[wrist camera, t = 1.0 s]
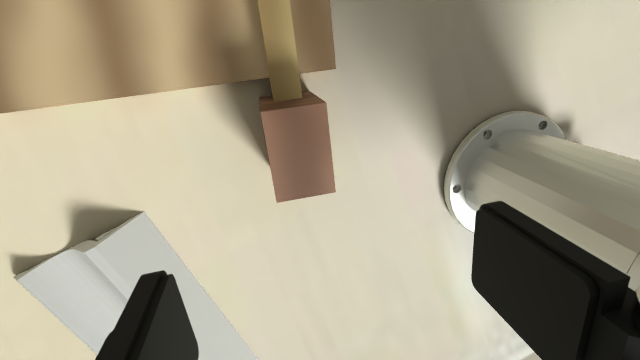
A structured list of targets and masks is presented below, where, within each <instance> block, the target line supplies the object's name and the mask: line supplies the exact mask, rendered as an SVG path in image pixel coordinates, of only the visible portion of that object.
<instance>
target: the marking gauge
mask: <svg viewBox="0 0 640 360" xmlns="http://www.w3.org/2000/svg"><path fill="white" fill-rule="evenodd" d="M257 4H258V10H259V16H260V23H261V29H262V35H263V41H264V47H265V53H266V59H267V65H268V71H269V77H270V84H271V90H272V96H268V97H261V98H259V101H260V113H261V118H262V124H263V129H264V135H265V140H266V146H267V151H268V157H269V162H270V168H271V173H272V179H273V185H274V190H275V196H276V201H277V203H278V202H284V201H289V200H295V199H300V198H306V197H311V196H317V195H322V194H328V193H334V192H336V191H335V182H334V172H333V163H332V153H331V144H330V134H329V125H328V115H327V106H326V102H325V101H323V100H322V99H320V98H319V97H317V96H316V95H314V94H313V93H312V92H310V91H304V92H302V90H301V83H300V75H299V68H298V60H297V52H296V45H295V37H294V30H293V22H292V14H291V7H290V0H257Z"/></svg>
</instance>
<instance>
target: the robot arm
mask: <svg viewBox="0 0 640 360" xmlns="http://www.w3.org/2000/svg"><path fill="white" fill-rule="evenodd" d="M444 194H445V201H446V204H447V207H448V210H449V211H450V213H451V214H452V216H453V218H454V219H455V220H456V221H457V222H459V223H460V224H461V225H462V226H463V227H465V228H466V229H467V230H469V231H470V232H473V233H474V246H473V262H472V283H473V286H474V288H475V289H476V290H477V291H478V292H479V293H480V295H481V296H482V297H483V298H484V299H485V300H486V301H487V302H488V303H489V304H490V305H491V306H492V307H493V308H494V309H495V310H496V311H497V313H498V314H499V315H500V316H501V317H502V318H503V319H504V320H505V321H506V322H507V323H508V324H509V325H510V326H511V327H512V328H513V329H514V331H515V332H516V333H517V334H518V335H519V336H520V337H521V338H522V339H523V340H524V341H525V342H526V343H527V344H528V345H529V346H530V347H531V349H532V350H533V351H534V352H535V353H536V354H537V355H538V356H539V357H540V358H541V359H542V360H640V161H639V160H636V159H632V158H629V157H625V156H621V155H618V154H614V153H611V152H607V151H603V150H600V149H596V148H593V147H589V146H585V145H582V144H578V143H575V142H571V141H567V140H566V138H565V136H564V133H563V132H562V130H561V129H560V128H559V126H558V125H557V124H556V123H555V122H554V121H552V120H551V119H550V118H548V117H546V116H543V115H541V114H538V113H533V112H529V111H511V112H504V113H502V114H499V115H496V116H493V117H491V118H489V119H488V120H486V121H484V122H483V123H481V124H480V125H478V126H477V127H476V128H475V129H473V130H472V131H471V132H470V133H469V134H468V135H467V136H466V137H465V138H464V140H463V141H462V142H461V143H460V144H459V146H458V148H457V149H456V151H455V152H454V154H453V156H452V158H451V160H450V162H449V165H448V168H447V171H446V175H445V182H444ZM198 357H199V348H198V343H197V340H196V337H195V334H194V331H193V329H192V326H191V323H190V320H189V317H188V314H187V311H186V308H185V306H184V303H183V300H182V297H181V294H180V291H179V288H178V286H177V283H176V280H175V277H174V275H173V274H168V275H167V273H166V272H165V271H164V270H162V271H157V272H152V273H147V274H143V275H141V276H140V278H139V280H138V282H137V284H136V286H135V288H134V290H133V292H132V294H131V296H130V298H129V300H128V302H127V304H126V306H125V308H124V310H123V312H122V314H121V316H120V318H119V320H118V322H117V324H116V326H115V328H114V330H113V331H112V332H110V333H109V335H108V336H107V338H106V339H105V341H104V343H103V345H102V347H101V349H100V351H99V353H98V355H97V357H96V359H95V360H198Z"/></svg>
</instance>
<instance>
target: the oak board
mask: <svg viewBox="0 0 640 360" xmlns="http://www.w3.org/2000/svg"><path fill="white" fill-rule="evenodd" d="M290 7H291V14H292V22H293V30H294V37H295V45H296V52H297V60H298V68H299V74H301V73H308V72H316V71H323V70H331V69H336V65H335V54H334V43H333V32H332V21H331V11H330V0H290ZM263 78H270V77H269V71H268V65H267V59H266V53H265V47H264V41H263V35H262V29H261V23H260V16H259V10H258V4H257V0H0V113H7V112H15V111H22V110H30V109H37V108H45V107H52V106H60V105H68V104H75V103H83V102H90V101H98V100H105V99H113V98H120V97H128V96H135V95H143V94H150V93H158V92H165V91H173V90H180V89H188V88H195V87H203V86H210V85H218V84H226V83H233V82H241V81H248V80H256V79H263Z"/></svg>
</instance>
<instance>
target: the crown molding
mask: <svg viewBox="0 0 640 360" xmlns="http://www.w3.org/2000/svg"><path fill="white" fill-rule="evenodd" d="M162 270H164V271H165V272H166V273H167V275H168V274H173V275H174V277H175V280H176V283H177V286H178V288H179V291H180V294H181V297H182V300H183V303H184V306H185V308H186V311H187V314H188V317H189V320H190V323H191V326H192V329H193V331H194V334H195V337H196V340H197V343H198V348H199V357H198V360H259V359H258V357H257V356H256V355H255V354H254V352H253V351H252V350H251V348H250V347H249V346H248V345H247V343H246V342H245V341H244V339H243V338H242V337H241V336H240V334H239V333H238V332H237V330H236V329H235V328H234V327H233V325H232V324H231V323H230V321H229V320H228V319H227V318H226V316H225V315H224V314H223V312H222V311H221V310H220V308H219V307H218V306H217V305H216V303H215V302H214V301H213V299H212V298H211V297H210V296H209V294H208V293H207V292H206V290H205V289H204V288H203V287H202V285H201V284H200V283H199V281H198V280H197V279H196V278H195V276H194V275H193V274H192V272H191V271H190V270H189V269H188V267H187V266H186V265H185V263H184V262H183V261H182V260H181V258H180V257H179V256H178V254H177V253H176V252H175V250H174V249H173V248H172V247H171V245H170V244H169V243H168V241H167V240H166V239H165V238H164V236H163V235H162V234H161V232H160V231H159V230H158V229H157V227H156V226H155V225H154V223H153V222H152V221H151V220H150V218H149V217H148V216H147V214H146V213H145V212H142V213H140V214H138V215H136V216H134V217H132V218H130V219H128V220H127V221H126V222H124V223H123V224H121V225H120V226H118V227H116V228H114V229H112V230H110V231H108V232H106V233H104V234H102V235H100V236H99V237H97V238H96V239H94V240H93V241H92V240H86V241H83V242H81V243H79V244H77V245H75V246H73V247H71V248H69V249H67V250H65V251H63V252H61V253H59V254H57V255H55V256H53V257H51V258H49V259H47V260H45V261H43V262H41V263H39V264H38V265H36V266H35V267H33V268H32V269H30V270H29V269H28V270H27V271H26V272H25V271H24V272H22V273H20V274H17V275H16V276H14V278H15V279H16V280H17V281H18V282H19V283H20V284H21V285H22V286H23V287H24V288H25V289H26V290H27V291H29V292H30V293H31V294H32V295H33V296H34V297H35V298H36V299H37V300H38V301H39V302H40V303H41V304H43V305H44V306H45V307H46V308H47V309H48V310H49V311H50V312H51V313H52V314H53V315H54V316H55V317H57V318H58V319H59V320H60V321H61V322H62V323H63V324H64V325H65V326H66V327H67V328H68V329H69V330H71V331H72V332H73V333H74V334H75V335H76V336H77V337H78V338H79V339H80V340H81V341H82V342H83V343H85V344H86V345H87V346H88V347H89V348H90V349H91V350H92V351H93V352H94V353H95V354H96V355H98V353H99V351H100V349H101V347H102V345H103V343H104V341H105V339H106V338H107V336H108V335H109V333H110V332H112V331H113V330H114V328H115V326H116V324H117V322H118V320H119V318H120V316H121V314H122V312H123V310H124V308H125V306H126V304H127V302H128V300H129V298H130V296H131V294H132V292H133V290H134V288H135V286H136V284H137V282H138V280H139V278H140V276H141V275H143V274H147V273H152V272H157V271H162Z"/></svg>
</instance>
